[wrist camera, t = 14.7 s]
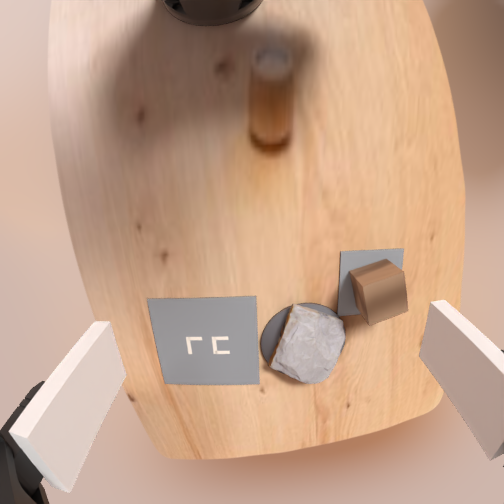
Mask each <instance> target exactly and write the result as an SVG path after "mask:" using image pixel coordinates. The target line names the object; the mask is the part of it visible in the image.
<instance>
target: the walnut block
mask: <svg viewBox="0 0 504 504" xmlns="http://www.w3.org/2000/svg"><path fill="white" fill-rule="evenodd" d="M349 273H350V278H351V283H352V288H353V293H354V298H355V303H356V307H357V309H358V310H359V312H360V313H361V314H362V316H363V317H364V319H365V320H366V322H367V323H368V325H369V326H370V325H373V324H376V323H379V322H381V321H384V320H387V319H389V318H392V317H395V316H397V315H400V314H402V313H405V312H407V311H408V302H407V292H406V283H405V275H404V271H402V270H401V269H400V268H398V267H397V266H396V265H394V264H393V263H392V262H390V261H389V260H388V259H383V260H380V261H377V262H374V263H371V264H368V265H365V266H362V267H359V268H356V269H353V270H350V271H349Z"/></svg>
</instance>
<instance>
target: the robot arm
mask: <svg viewBox="0 0 504 504" xmlns="http://www.w3.org/2000/svg"><path fill="white" fill-rule="evenodd" d="M162 1H163V3H164V5H165V7H166V8H167V10H168V11H169V12H170V13H171V14H172V15H173V16H174V17H176V18H177V19H179V20H181V21H183V22H186V23H189V24H194V25H201V26H214V25H221V24H226V23H230V22H233V21H236V20H238V19H240V18H242V17H244V16H246V15H248V14H249V13H251V12H252V11H253V10H255V9H256V8H257V7H258V6H259V4H260V3H261V2H262V0H162ZM419 357H420V358H421V360H422V361H423V362H424V364H425V365H426V366H427V368H428V369H429V371H430V372H431V373H432V375H433V376H434V377H435V379H436V380H437V382H438V383H439V384H440V386H441V387H442V389H443V390H444V392H445V393H446V394H447V396H448V397H449V399H450V400H451V402H452V403H453V404H454V406H455V407H456V409H457V410H458V412H459V413H460V415H461V416H462V418H463V419H464V421H465V422H466V424H467V425H468V427H469V428H470V430H471V431H472V433H473V434H474V436H475V437H476V439H477V441H478V442H479V444H480V445H481V447H482V449H483V450H484V452H485V453H486V455H487V457H488V458H489V460H492V459H494V458H496V457H498V456H500V455H502V454H504V351H503V350H500V349H499V348H498V347H497V346H495V345H494V344H493V343H492V342H491V341H490V340H489V339H488V338H487V337H486V336H485V335H484V334H482V332H480V331H479V330H478V329H477V328H476V327H475V326H474V325H473V324H472V323H470V322H469V321H468V320H467V319H466V318H465V317H464V316H462V315H461V314H460V313H459V312H458V311H457V310H456V309H455V308H453V307H452V306H451V305H450V304H449V303H448V302H446V301H445V300H440V301H434V302H430V307H429V312H428V318H427V322H426V327H425V332H424V336H423V341H422V345H421V349H420V353H419ZM126 375H127V374H126V372H125V369H124V366H123V362H122V359H121V356H120V353H119V350H118V347H117V343H116V340H115V336H114V333H113V329H112V326H111V322H105V321H95V322H94V323H93V324H92V325H91V326H90V327H89V329H88V330H87V331H86V332H85V333H84V335H83V336H82V337H81V338H80V339H79V340H78V342H77V343H76V344H75V345H74V347H73V348H72V349H71V350H70V352H69V353H68V354H67V355H66V356H65V358H64V359H63V360H62V361H61V362H60V364H59V365H58V367H57V368H56V369H55V370H54V371H53V373H52V374H51V375H50V376H49V378H48V379H47V380H46V381H42V382H40V383H39V384H37V385H36V386H35V387H33V388H32V389H31V390H30V392H29V393H28V394H27V395H26V397H25V399H23V401H22V402H21V403H20V406H19V407H17V409H16V410H15V411H14V412H13V414H12V415H11V416H10V418H9V419H8V420H7V422H6V423H5V425H4V426H3V427H2V429H1V430H0V504H49V502H48V499H47V496H46V493H45V489H44V488H43V486H42V484H41V483H40V482H41V481H42V478H43V477H44V478H45V479H46V480H47V482H48V483H49V484H50V485H51V486H52V487H54V488H57V489H60V490H63V491H66V492H69V493H71V490H72V488H73V486H74V483H75V481H76V479H77V476H78V475H79V472H80V470H81V468H82V465H83V463H84V461H85V459H86V457H87V454H88V452H89V450H90V448H91V446H92V444H93V442H94V440H95V437H96V436H97V433H98V431H99V429H100V427H101V425H102V423H103V421H104V419H105V417H106V415H107V413H108V411H109V409H110V406H111V405H112V403H113V401H114V399H115V397H116V395H117V393H118V391H119V389H120V387H121V385H122V383H123V381H124V379H125V377H126ZM503 467H504V466H503Z"/></svg>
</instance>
